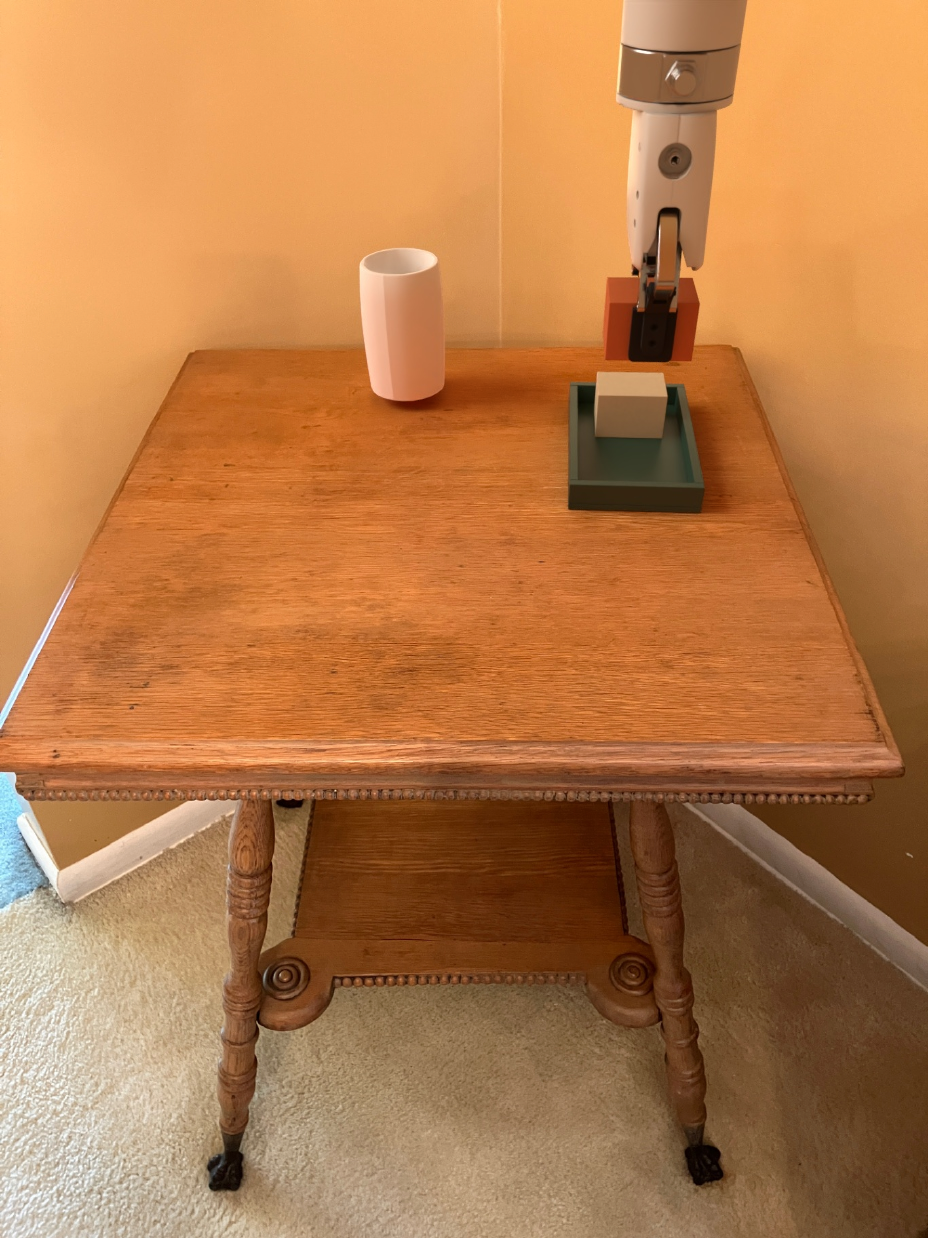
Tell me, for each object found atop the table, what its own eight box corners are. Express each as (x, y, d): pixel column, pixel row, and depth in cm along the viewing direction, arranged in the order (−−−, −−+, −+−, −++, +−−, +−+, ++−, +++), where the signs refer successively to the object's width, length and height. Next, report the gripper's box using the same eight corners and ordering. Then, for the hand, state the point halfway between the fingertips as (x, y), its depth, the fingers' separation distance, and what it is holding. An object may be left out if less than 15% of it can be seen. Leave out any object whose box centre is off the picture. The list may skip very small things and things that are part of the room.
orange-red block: (691, 361, 69) (700, 303, 66) (604, 360, 69) (609, 302, 66) (685, 333, 73) (692, 277, 70) (602, 332, 73) (606, 276, 70)
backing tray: (700, 513, 80) (705, 487, 78) (567, 509, 81) (569, 484, 79) (681, 406, 95) (684, 383, 93) (568, 404, 96) (569, 381, 94)
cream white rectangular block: (662, 438, 89) (667, 396, 86) (594, 437, 89) (598, 394, 87) (658, 413, 93) (663, 372, 90) (593, 412, 93) (597, 371, 90)
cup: (459, 382, 100) (454, 250, 91) (431, 418, 94) (423, 280, 85) (387, 372, 103) (376, 242, 93) (356, 406, 97) (341, 271, 88)
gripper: (756, 105, 52) (708, 396, 64) (718, 49, 65) (684, 301, 77) (624, 106, 53) (601, 394, 65) (612, 51, 66) (595, 300, 78)
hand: (646, 341), depth 71 cm, fingers closed on orange-red block, 5 cm apart
